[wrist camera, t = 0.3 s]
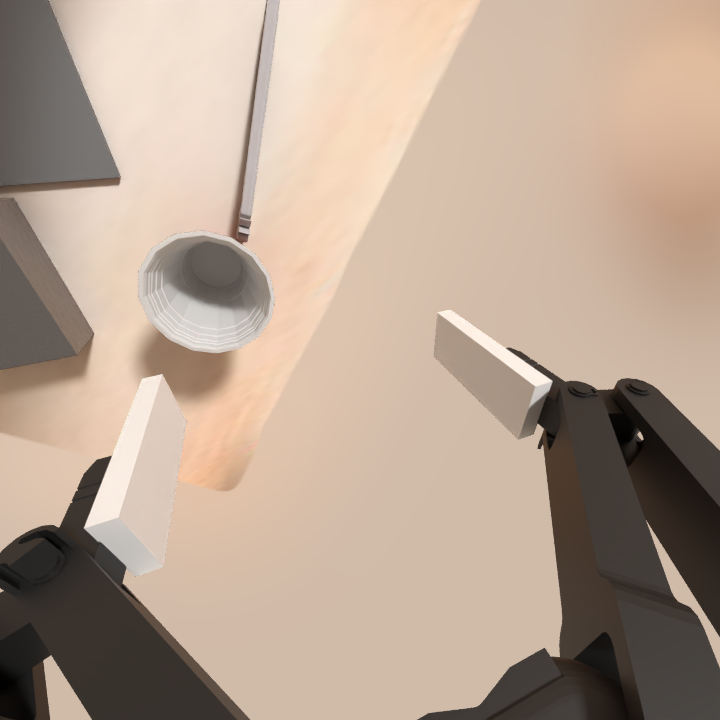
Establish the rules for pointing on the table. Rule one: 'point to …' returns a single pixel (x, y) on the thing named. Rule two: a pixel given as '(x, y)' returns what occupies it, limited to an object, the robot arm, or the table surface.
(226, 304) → the plastic cup
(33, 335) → the block
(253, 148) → the caliper
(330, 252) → the table surface
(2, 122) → the key mat
